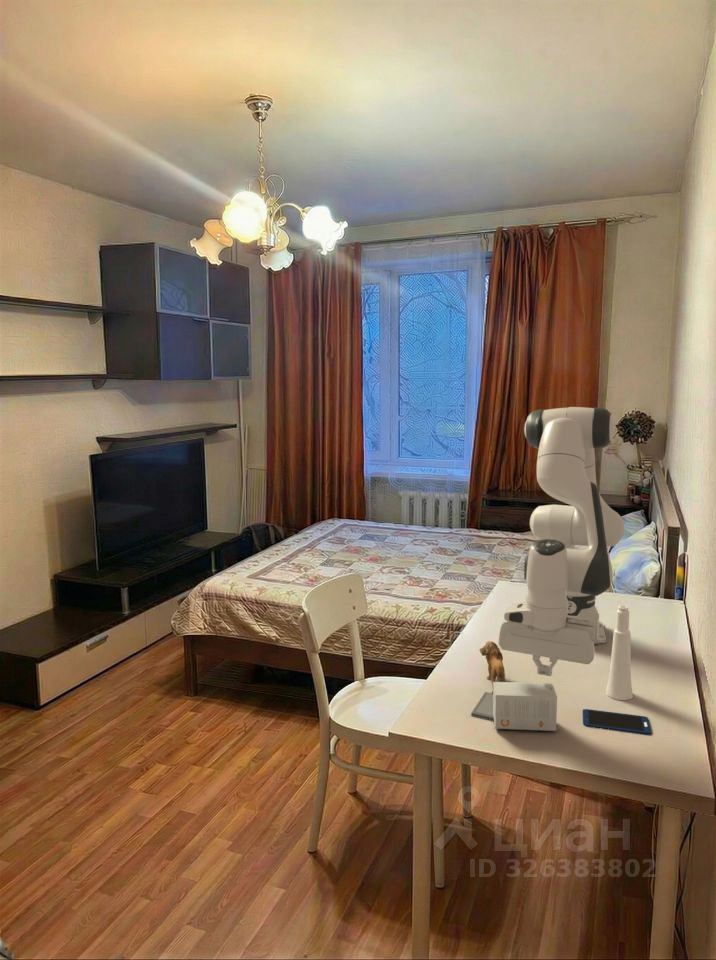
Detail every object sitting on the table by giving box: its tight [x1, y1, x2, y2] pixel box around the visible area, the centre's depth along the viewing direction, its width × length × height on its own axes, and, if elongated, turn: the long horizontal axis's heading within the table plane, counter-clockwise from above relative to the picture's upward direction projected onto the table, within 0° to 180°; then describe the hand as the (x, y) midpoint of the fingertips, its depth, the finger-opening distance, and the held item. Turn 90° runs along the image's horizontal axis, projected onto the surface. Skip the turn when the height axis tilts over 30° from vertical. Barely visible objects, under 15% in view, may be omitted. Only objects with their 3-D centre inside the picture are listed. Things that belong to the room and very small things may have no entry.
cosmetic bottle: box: [605, 605, 634, 701], centre depth 155 cm, size 6×6×22 cm
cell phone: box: [582, 708, 653, 736], centre depth 144 cm, size 7×14×1 cm, turn 72°
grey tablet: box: [470, 691, 542, 732], centre depth 149 cm, size 11×16×1 cm
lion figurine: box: [478, 640, 506, 694], centre depth 162 cm, size 15×5×9 cm, turn 5°
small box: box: [492, 681, 558, 732], centre depth 143 cm, size 8×6×13 cm
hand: (544, 674), depth 145 cm, fingers closed
